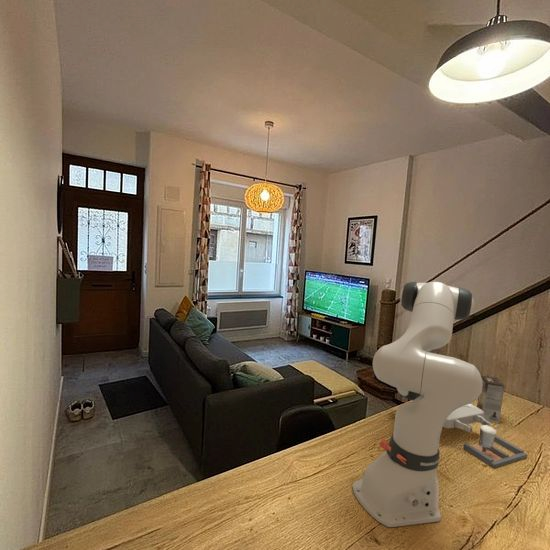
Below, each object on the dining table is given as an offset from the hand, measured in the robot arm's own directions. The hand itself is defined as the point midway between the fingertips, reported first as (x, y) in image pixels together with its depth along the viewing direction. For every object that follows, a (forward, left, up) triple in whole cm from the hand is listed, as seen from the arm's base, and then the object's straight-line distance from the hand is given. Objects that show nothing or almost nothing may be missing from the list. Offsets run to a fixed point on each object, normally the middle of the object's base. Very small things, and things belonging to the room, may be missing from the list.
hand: (480, 427), depth 108 cm
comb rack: (+4, -3, -8) cm, 9 cm away
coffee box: (+28, +14, -8) cm, 32 cm away
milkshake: (0, -3, -7) cm, 8 cm away
